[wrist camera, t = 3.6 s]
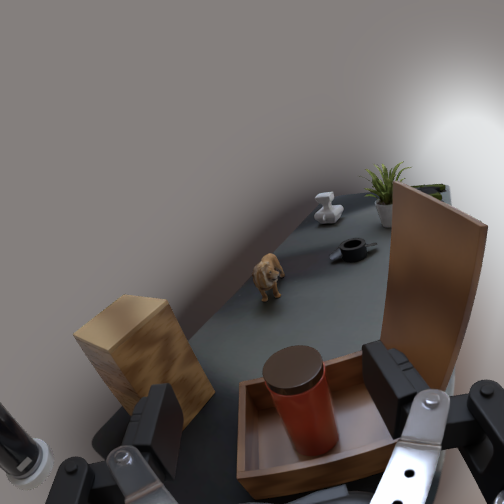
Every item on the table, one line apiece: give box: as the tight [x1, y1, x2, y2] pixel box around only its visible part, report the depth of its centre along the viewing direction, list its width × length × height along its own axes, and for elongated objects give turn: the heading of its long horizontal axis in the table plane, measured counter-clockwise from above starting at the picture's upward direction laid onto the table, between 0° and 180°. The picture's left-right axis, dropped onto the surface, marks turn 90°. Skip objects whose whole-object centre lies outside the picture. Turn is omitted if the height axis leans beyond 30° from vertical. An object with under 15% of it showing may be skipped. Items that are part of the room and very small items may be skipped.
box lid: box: [380, 181, 488, 392], centre depth 25 cm, size 18×14×4 cm
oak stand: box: [75, 304, 215, 431], centre depth 40 cm, size 10×10×16 cm
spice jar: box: [263, 345, 340, 456], centre depth 29 cm, size 6×6×12 cm
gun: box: [392, 184, 445, 201], centre depth 90 cm, size 2×19×15 cm
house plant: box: [365, 162, 409, 227], centre depth 75 cm, size 14×14×16 cm
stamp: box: [314, 192, 343, 224], centre depth 91 cm, size 9×7×8 cm
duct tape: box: [329, 238, 377, 262], centre depth 69 cm, size 8×10×3 cm
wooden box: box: [237, 350, 400, 500], centre depth 31 cm, size 18×14×6 cm
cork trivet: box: [73, 295, 169, 354], centre depth 37 cm, size 10×10×1 cm
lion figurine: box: [252, 253, 285, 302], centre depth 65 cm, size 15×5×9 cm, turn 177°
